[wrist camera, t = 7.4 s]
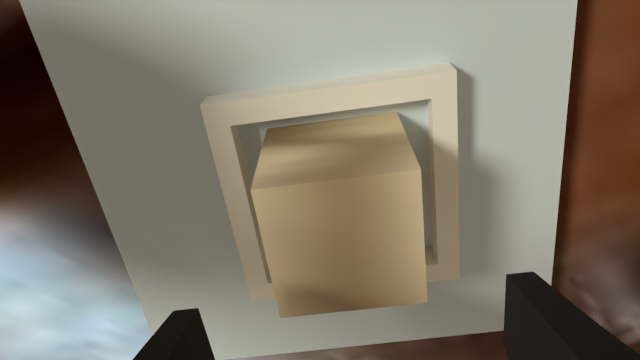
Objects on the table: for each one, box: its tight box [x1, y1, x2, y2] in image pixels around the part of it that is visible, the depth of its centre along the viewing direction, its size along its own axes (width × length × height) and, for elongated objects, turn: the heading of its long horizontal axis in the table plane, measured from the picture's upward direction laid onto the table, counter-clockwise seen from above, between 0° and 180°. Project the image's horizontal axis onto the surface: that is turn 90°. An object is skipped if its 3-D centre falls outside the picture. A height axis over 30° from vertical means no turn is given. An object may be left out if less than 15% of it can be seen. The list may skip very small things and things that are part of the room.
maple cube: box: [251, 112, 427, 318], centre depth 16 cm, size 4×4×4 cm
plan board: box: [19, 0, 578, 360], centre depth 18 cm, size 17×18×2 cm
